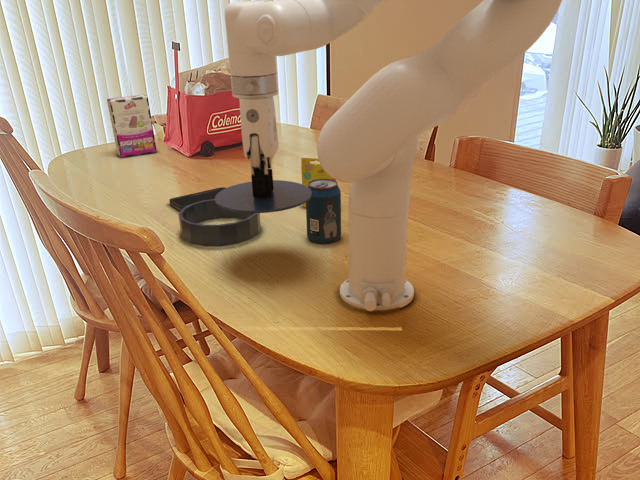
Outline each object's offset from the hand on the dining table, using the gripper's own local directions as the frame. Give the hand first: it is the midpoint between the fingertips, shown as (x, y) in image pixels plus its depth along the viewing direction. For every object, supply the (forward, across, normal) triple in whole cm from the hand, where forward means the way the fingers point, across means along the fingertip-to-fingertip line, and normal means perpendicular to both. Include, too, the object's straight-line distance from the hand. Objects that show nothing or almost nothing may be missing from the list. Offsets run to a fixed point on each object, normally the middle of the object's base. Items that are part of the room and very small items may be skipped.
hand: (263, 193), depth 112 cm
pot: (+14, +16, +12) cm, 24 cm away
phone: (+13, +36, +20) cm, 43 cm away
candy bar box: (+13, +80, +50) cm, 95 cm away
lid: (+1, 0, 0) cm, 1 cm away
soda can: (+14, +12, -10) cm, 21 cm away
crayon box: (+14, +32, -8) cm, 36 cm away
